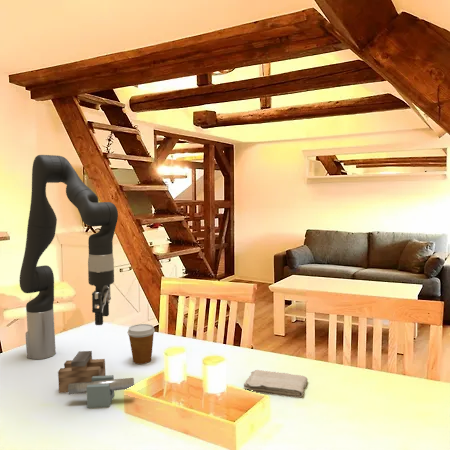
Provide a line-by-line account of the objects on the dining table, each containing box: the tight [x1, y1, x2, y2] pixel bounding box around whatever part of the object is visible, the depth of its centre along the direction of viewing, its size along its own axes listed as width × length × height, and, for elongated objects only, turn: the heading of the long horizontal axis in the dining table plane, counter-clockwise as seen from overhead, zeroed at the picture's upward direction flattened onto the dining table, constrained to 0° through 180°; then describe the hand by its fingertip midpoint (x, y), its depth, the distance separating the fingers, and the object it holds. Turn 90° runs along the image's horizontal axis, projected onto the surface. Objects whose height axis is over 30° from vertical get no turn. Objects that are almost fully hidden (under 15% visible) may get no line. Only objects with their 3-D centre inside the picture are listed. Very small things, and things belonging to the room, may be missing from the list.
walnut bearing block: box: [57, 350, 106, 394], centre depth 138 cm, size 12×9×9 cm
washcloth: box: [243, 369, 309, 398], centre depth 135 cm, size 12×18×3 cm, turn 72°
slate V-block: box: [86, 374, 115, 409], centre depth 128 cm, size 6×7×6 cm
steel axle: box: [67, 377, 135, 396], centre depth 127 cm, size 18×3×3 cm, turn 94°
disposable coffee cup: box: [127, 323, 156, 365], centre depth 158 cm, size 10×10×12 cm
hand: (102, 320), depth 137 cm, fingers open, 8 cm apart
